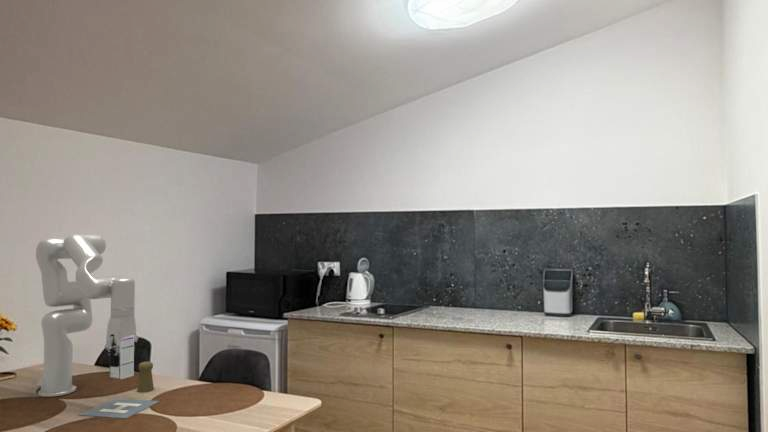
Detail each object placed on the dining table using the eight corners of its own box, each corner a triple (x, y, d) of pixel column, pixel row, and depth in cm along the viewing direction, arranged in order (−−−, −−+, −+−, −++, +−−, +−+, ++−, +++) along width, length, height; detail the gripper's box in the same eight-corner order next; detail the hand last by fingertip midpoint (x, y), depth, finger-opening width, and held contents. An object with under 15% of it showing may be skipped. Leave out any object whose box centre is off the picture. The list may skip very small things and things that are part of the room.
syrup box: (134, 375, 184) (135, 334, 184) (119, 379, 178) (120, 337, 179) (123, 374, 186) (124, 333, 187) (108, 378, 181) (109, 336, 181)
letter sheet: (78, 415, 175) (78, 414, 175) (115, 398, 192) (115, 398, 192) (126, 418, 171) (126, 417, 171) (159, 401, 189) (159, 401, 189)
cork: (147, 393, 200) (148, 364, 200) (133, 392, 201) (134, 363, 201) (157, 388, 205) (157, 360, 206) (143, 387, 206) (143, 359, 207)
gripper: (129, 309, 192) (128, 358, 191) (95, 316, 175) (94, 369, 174) (147, 309, 191) (147, 358, 190) (114, 316, 174) (114, 370, 173)
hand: (121, 363), depth 182 cm, fingers closed on syrup box, 6 cm apart
